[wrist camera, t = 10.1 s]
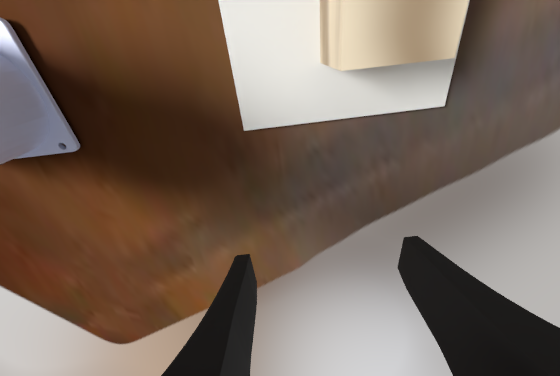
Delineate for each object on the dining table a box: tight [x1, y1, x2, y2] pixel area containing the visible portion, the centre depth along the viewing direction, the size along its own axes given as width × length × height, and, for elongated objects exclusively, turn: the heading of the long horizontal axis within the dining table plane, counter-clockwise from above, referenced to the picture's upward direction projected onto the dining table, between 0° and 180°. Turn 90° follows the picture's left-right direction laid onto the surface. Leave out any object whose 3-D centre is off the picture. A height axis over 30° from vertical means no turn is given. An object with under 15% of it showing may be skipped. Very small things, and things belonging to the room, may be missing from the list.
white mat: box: [219, 0, 470, 131], centre depth 14 cm, size 14×12×1 cm
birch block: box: [320, 0, 469, 71], centre depth 11 cm, size 5×5×5 cm
